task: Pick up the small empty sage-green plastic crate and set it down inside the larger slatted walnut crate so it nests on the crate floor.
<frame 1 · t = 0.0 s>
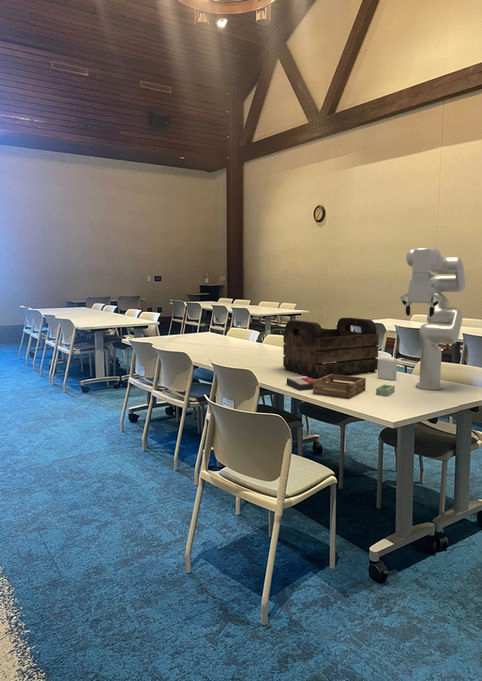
hand: (419, 316, 211), 37 cm above the table, tool pointing down, fingers open, 9 cm apart
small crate: (385, 393, 223), on the table
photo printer: (386, 379, 256), on the table
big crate: (339, 391, 226), on the table
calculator: (302, 387, 239), on the table
wooden crate: (329, 371, 279), on the table
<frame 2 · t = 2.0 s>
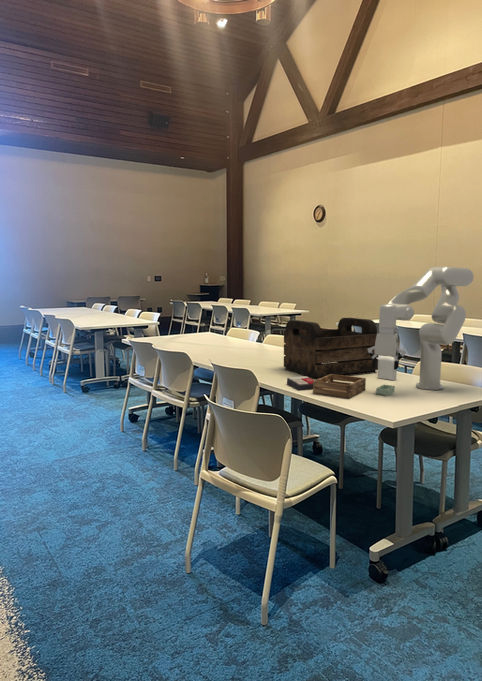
hand: (385, 368, 221), 12 cm above the table, tool pointing down, fingers open, 9 cm apart
nothing on the table moved.
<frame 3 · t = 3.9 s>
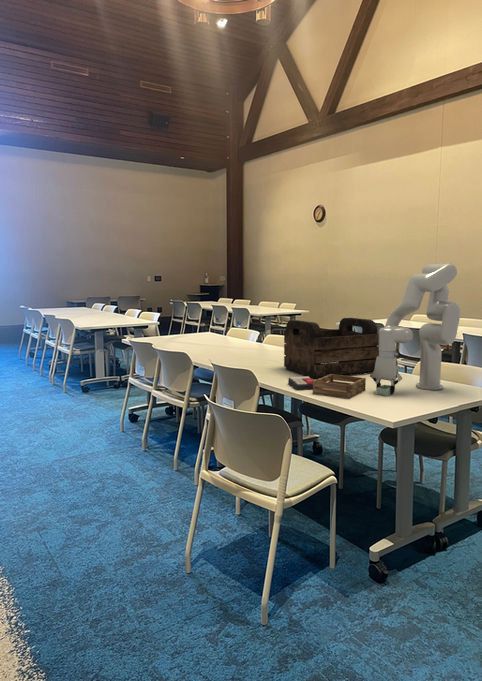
hand: (385, 392, 223), 0 cm above the table, tool pointing down, fingers closed on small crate, 5 cm apart
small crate: (385, 393, 223), on the table, touching gripper
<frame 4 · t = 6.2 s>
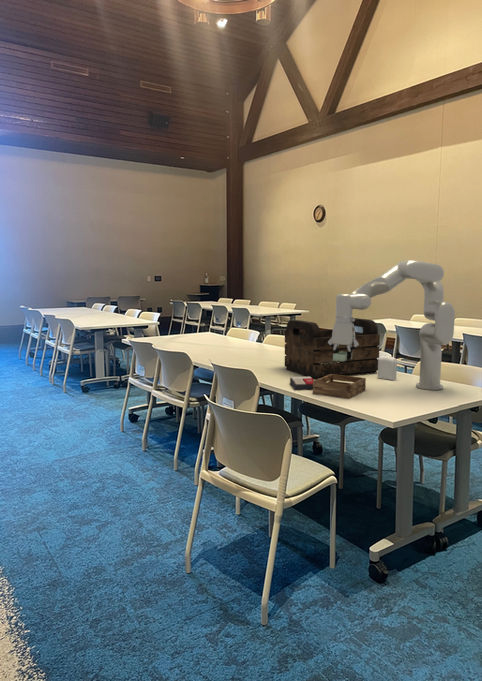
hand: (342, 358, 224), 16 cm above the table, tool pointing down, fingers closed on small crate, 5 cm apart
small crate: (342, 359, 224), point 16 cm above the table, touching gripper
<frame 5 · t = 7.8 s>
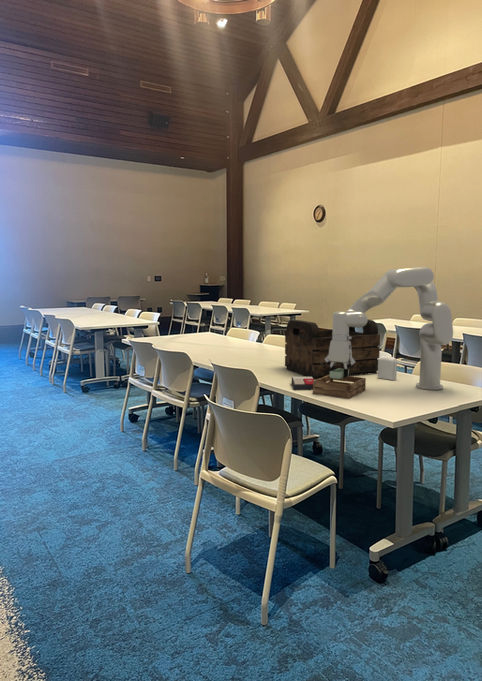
hand: (339, 375, 225), 8 cm above the table, tool pointing down, fingers closed on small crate, 5 cm apart
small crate: (339, 376, 225), point 7 cm above the table, touching gripper
when the fingers open (3 cm above the table, at t = 9.0 s): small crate drops 2 cm, resting on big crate.
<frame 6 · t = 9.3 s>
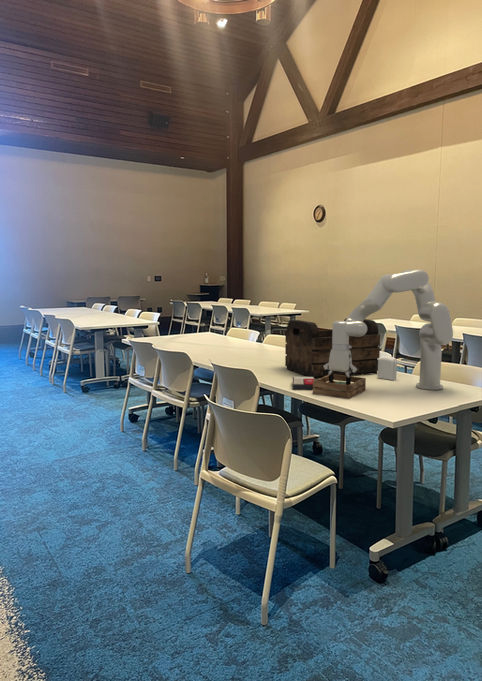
hand: (339, 383, 226), 4 cm above the table, tool pointing down, fingers open, 7 cm apart
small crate: (339, 389, 226), point 1 cm above the table, touching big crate
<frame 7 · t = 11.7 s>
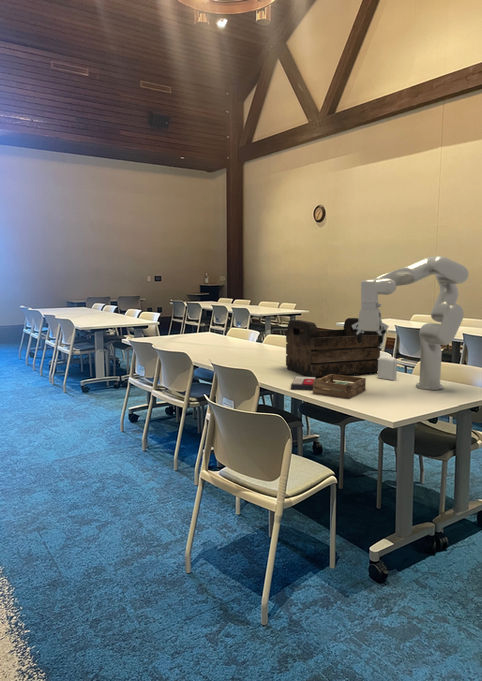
hand: (370, 343, 223), 23 cm above the table, tool pointing down, fingers open, 9 cm apart
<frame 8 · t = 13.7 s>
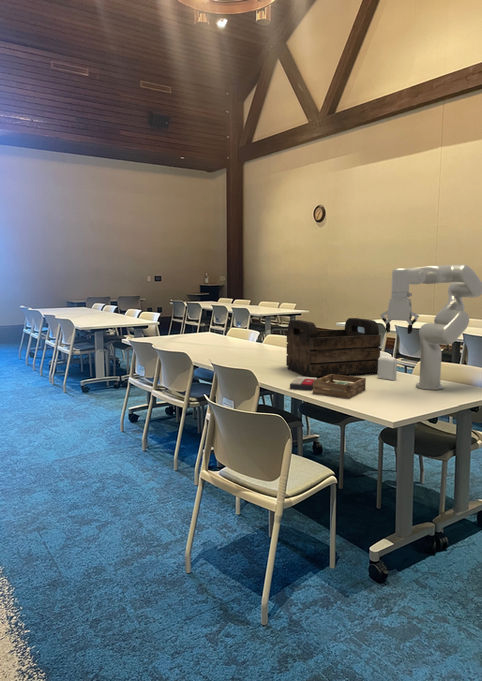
hand: (398, 332, 220), 28 cm above the table, tool pointing down, fingers open, 9 cm apart
at the end: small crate inside the target area on the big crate (0.0 cm from its centre), point 1.0 cm above the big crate's base; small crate tilted 0°; the gripper is holding nothing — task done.
